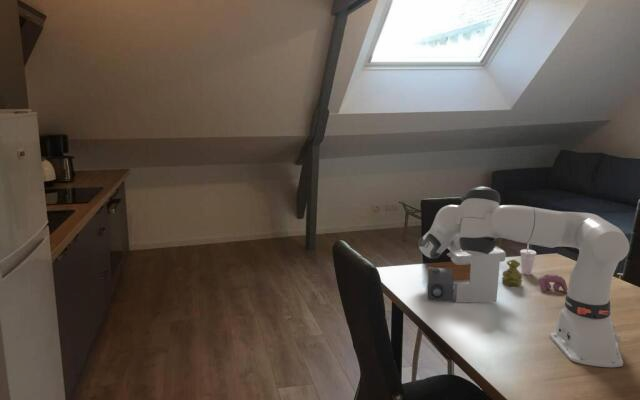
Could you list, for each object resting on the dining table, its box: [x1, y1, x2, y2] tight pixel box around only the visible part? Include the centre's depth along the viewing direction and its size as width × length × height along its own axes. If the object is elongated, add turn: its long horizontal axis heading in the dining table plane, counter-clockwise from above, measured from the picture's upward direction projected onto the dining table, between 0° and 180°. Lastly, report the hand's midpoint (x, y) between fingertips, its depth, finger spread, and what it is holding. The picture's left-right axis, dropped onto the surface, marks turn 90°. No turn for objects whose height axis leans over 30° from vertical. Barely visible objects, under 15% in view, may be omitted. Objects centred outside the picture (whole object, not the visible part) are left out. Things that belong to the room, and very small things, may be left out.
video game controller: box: [538, 274, 568, 294], centre depth 191 cm, size 10×5×7 cm, turn 85°
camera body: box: [426, 266, 455, 303], centre depth 187 cm, size 18×9×8 cm, turn 168°
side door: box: [452, 253, 501, 303], centre depth 178 cm, size 16×1×19 cm, turn 89°
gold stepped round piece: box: [501, 259, 523, 288], centre depth 196 cm, size 7×7×10 cm
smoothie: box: [519, 243, 537, 276], centre depth 208 cm, size 6×6×14 cm
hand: (488, 263), depth 177 cm, fingers closed
